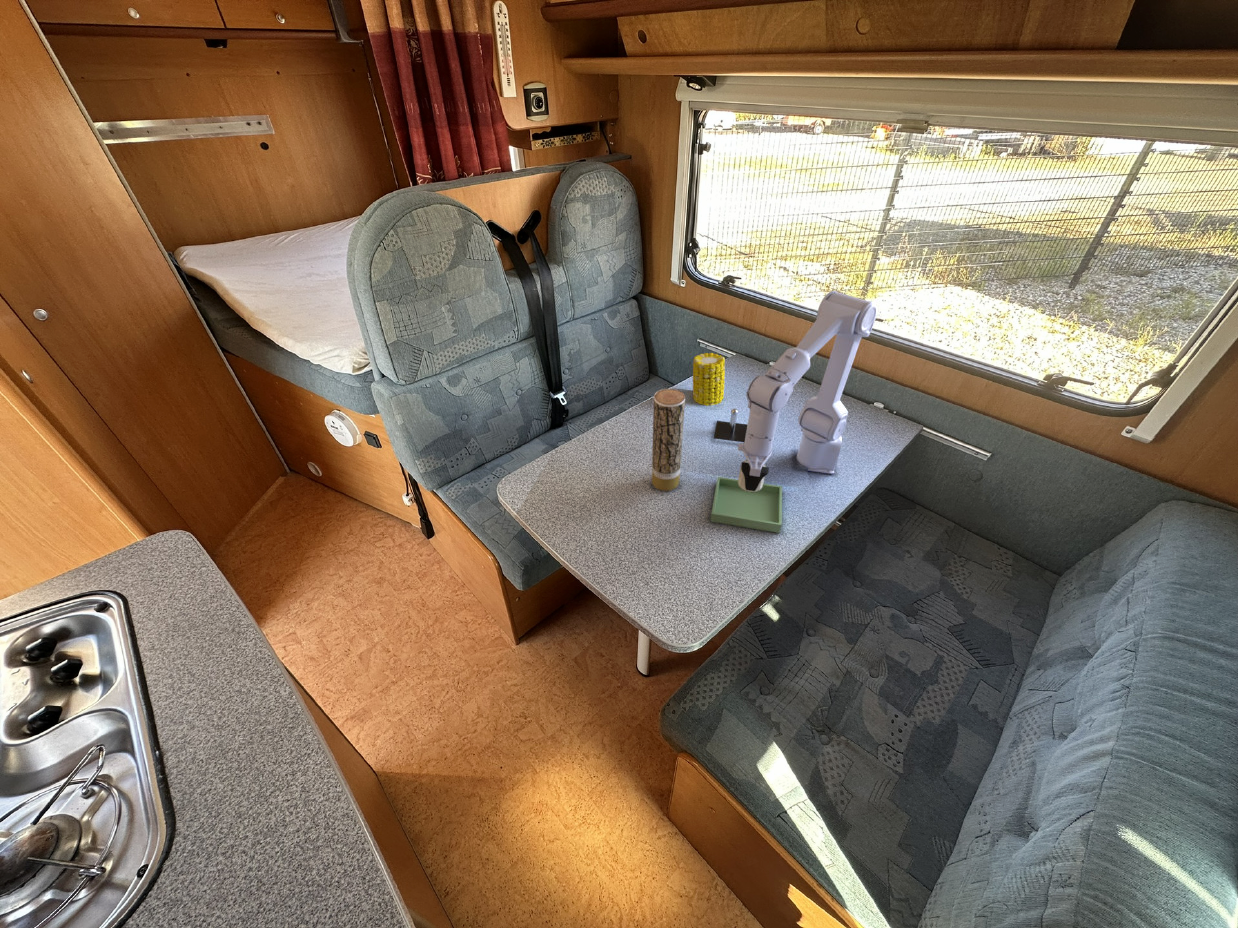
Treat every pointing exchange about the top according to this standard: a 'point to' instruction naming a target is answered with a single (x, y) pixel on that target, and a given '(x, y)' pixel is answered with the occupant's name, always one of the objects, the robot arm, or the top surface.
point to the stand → (731, 429)
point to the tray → (747, 506)
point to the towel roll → (742, 480)
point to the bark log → (667, 438)
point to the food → (708, 379)
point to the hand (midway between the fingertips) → (751, 480)
